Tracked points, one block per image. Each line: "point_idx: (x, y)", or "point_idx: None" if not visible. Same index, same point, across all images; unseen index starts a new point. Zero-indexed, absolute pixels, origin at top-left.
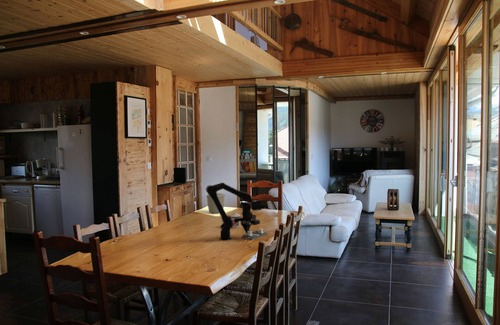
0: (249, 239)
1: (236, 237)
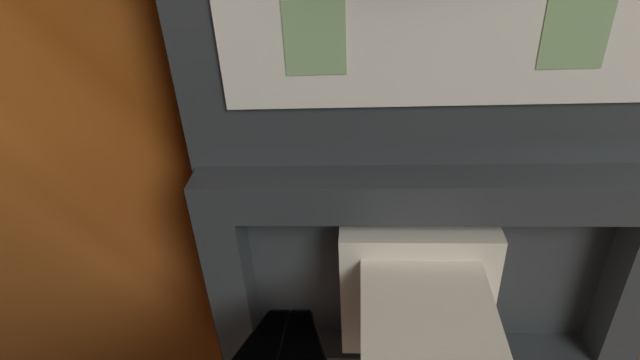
0: None
1: (98, 344)
